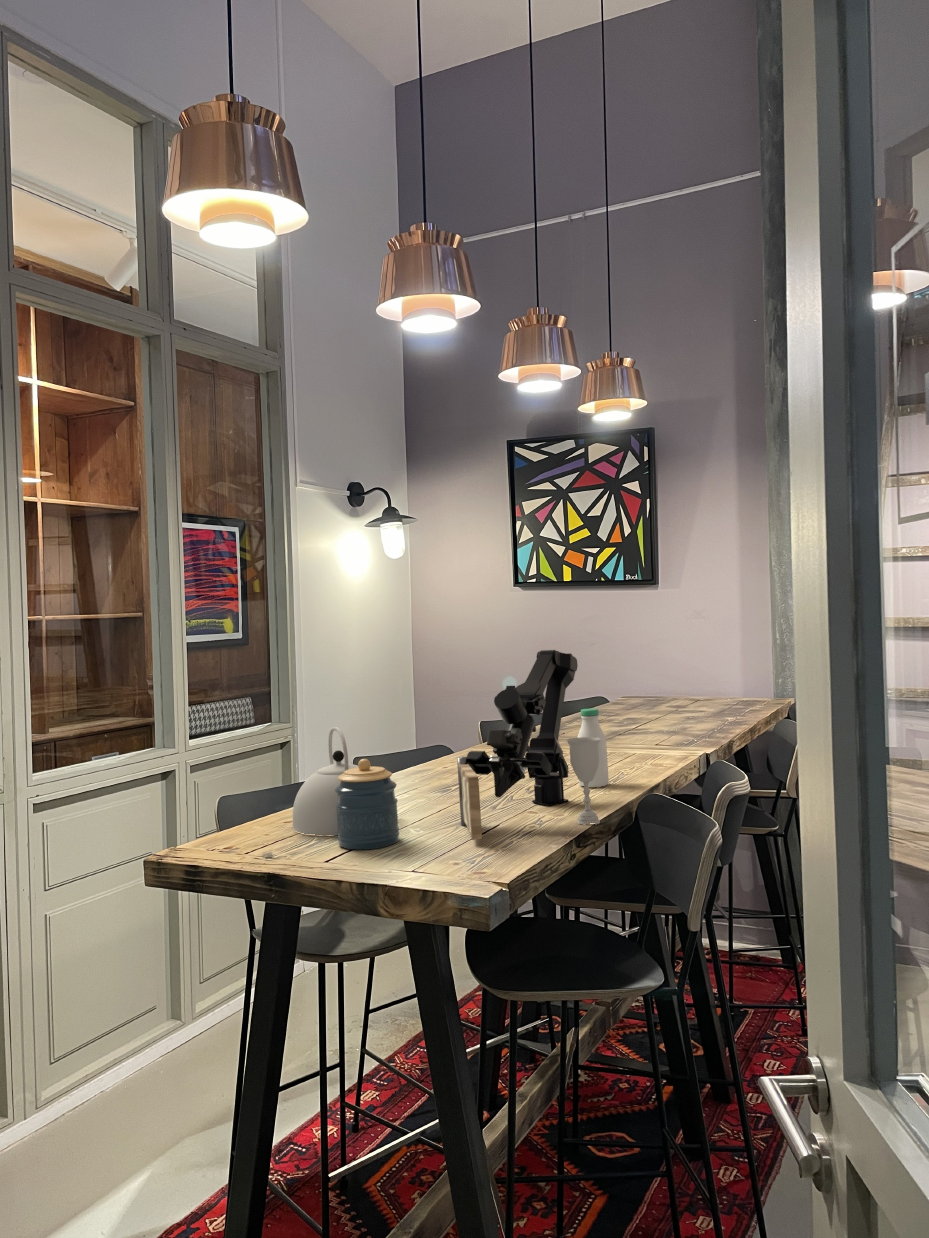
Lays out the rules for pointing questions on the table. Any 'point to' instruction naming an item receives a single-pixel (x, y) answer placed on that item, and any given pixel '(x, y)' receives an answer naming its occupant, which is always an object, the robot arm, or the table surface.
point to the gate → (471, 801)
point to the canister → (366, 808)
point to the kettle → (321, 795)
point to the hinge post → (461, 762)
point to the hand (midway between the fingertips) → (497, 796)
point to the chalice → (585, 770)
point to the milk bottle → (593, 729)
